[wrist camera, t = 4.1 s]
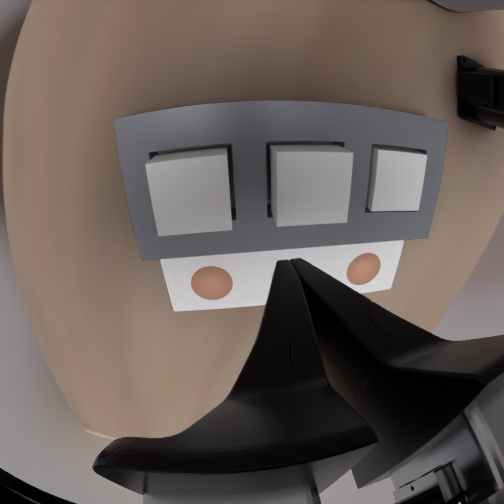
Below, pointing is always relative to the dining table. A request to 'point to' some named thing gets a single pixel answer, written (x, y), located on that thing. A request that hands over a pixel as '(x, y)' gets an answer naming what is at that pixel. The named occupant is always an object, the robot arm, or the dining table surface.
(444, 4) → the cylinder vase
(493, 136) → the dining table surface
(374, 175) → the button
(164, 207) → the button
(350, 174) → the button middle
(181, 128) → the button board
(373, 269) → the pattern card
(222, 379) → the dining table surface
